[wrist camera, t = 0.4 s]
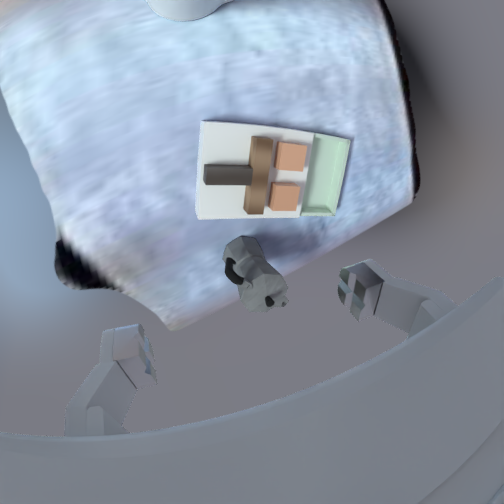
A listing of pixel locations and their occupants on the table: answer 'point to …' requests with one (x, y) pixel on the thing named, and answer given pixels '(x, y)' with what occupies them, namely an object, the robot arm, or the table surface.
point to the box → (324, 175)
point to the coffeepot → (254, 276)
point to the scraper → (246, 174)
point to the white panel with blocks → (237, 153)
